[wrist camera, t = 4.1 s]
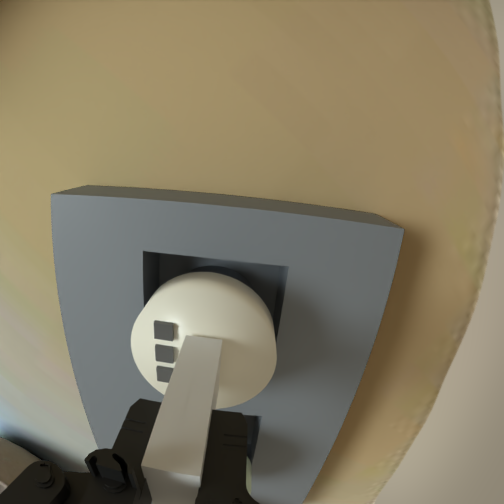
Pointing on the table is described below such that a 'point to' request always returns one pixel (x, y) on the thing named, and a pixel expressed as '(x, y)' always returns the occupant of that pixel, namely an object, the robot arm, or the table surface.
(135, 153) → the table surface
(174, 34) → the table surface
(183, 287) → the button three
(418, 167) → the table surface
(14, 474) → the bowl
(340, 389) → the console
